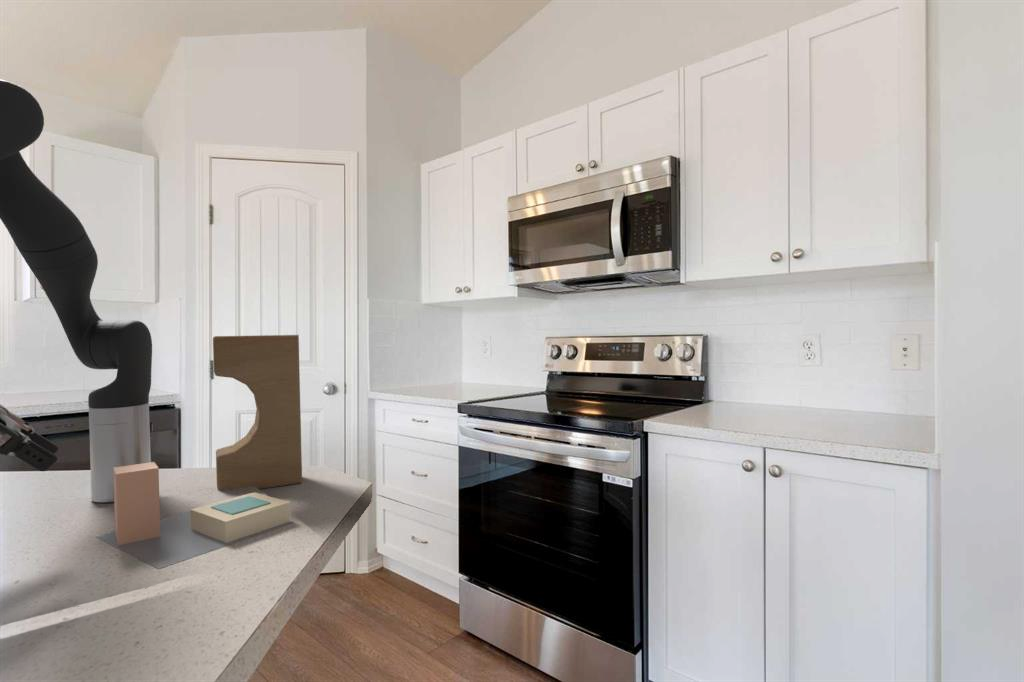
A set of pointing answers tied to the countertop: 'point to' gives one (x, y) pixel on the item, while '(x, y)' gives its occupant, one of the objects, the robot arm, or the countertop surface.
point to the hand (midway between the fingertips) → (52, 459)
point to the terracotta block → (136, 502)
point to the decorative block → (263, 411)
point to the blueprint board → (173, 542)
